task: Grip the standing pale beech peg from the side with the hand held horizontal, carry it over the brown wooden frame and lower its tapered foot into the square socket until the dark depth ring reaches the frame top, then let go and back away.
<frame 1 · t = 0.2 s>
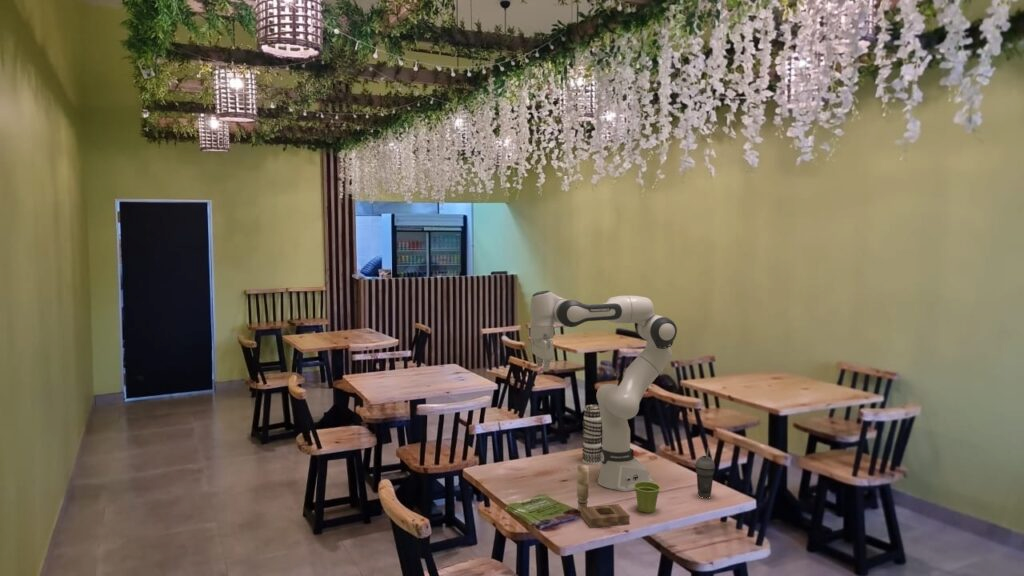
hand: (542, 368, 246), 48 cm above the table, tool pointing down, fingers open, 8 cm apart
decorative candle: (592, 461, 282), on the table
plant pot: (646, 510, 230), on the table
peg: (582, 510, 228), on the table
brown wooden frame: (604, 519, 221), on the table
beverage cup: (704, 496, 243), on the table
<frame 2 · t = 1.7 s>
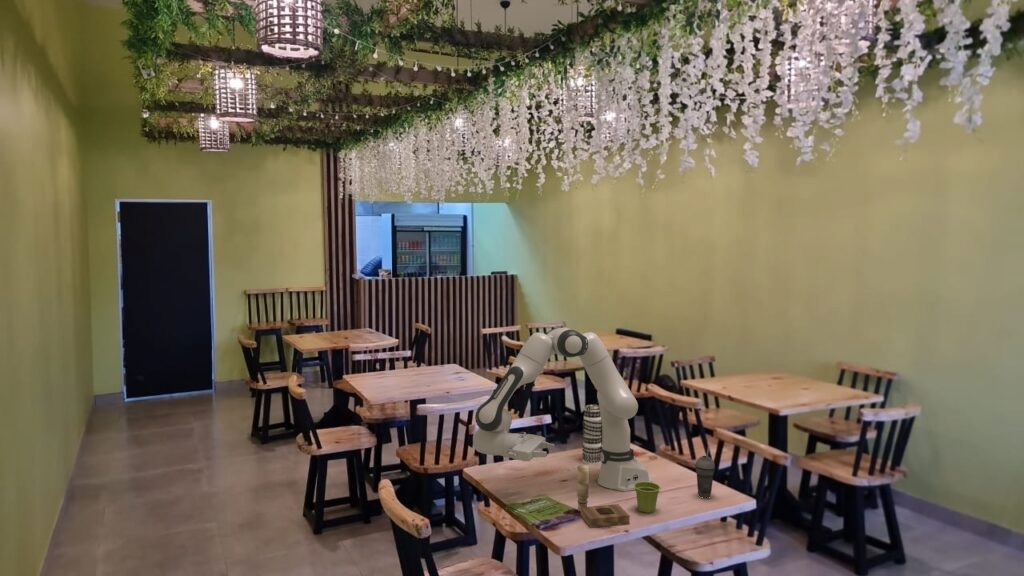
hand: (550, 450, 231), 20 cm above the table, tool horizontal, fingers open, 8 cm apart
nothing on the table moved.
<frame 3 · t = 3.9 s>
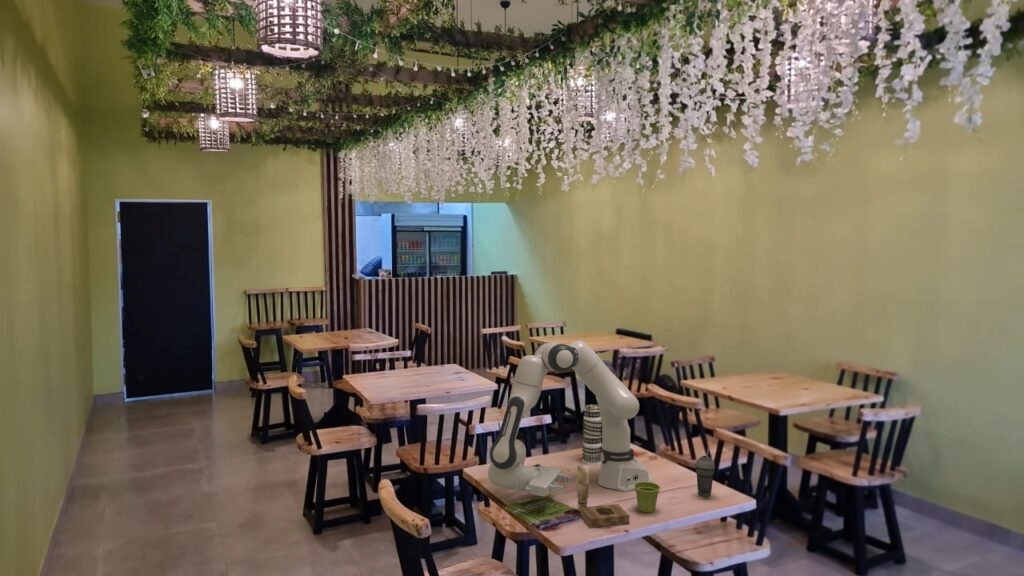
hand: (567, 484, 230), 9 cm above the table, tool horizontal, fingers open, 8 cm apart
nothing on the table moved.
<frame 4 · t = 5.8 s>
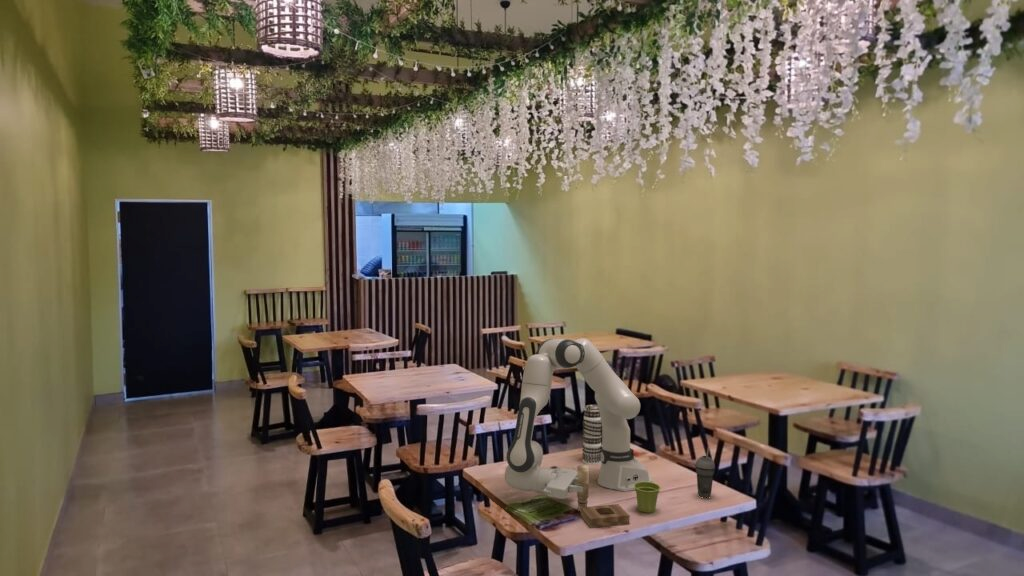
hand: (585, 486, 228), 9 cm above the table, tool horizontal, fingers closed on peg, 4 cm apart
peg: (582, 510, 228), on the table, touching gripper
everything else where it was.
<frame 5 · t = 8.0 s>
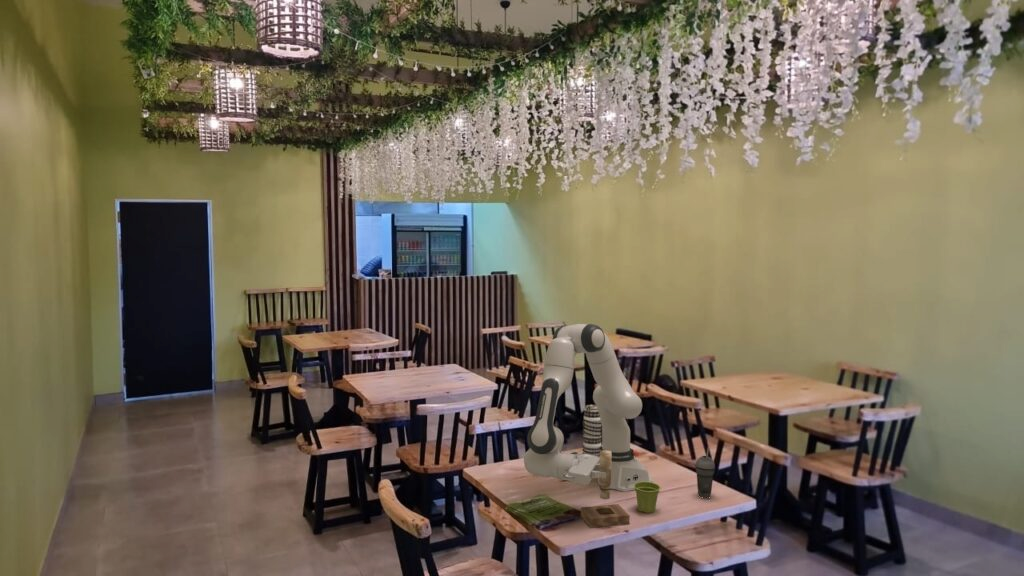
hand: (607, 472, 220), 17 cm above the table, tool horizontal, fingers closed on peg, 4 cm apart
peg: (604, 497, 220), point 8 cm above the table, touching gripper
everything else where it was.
when the fingers open (9 cm above the table, at t = 10.0 s): peg stays where it is, resting in brown wooden frame.
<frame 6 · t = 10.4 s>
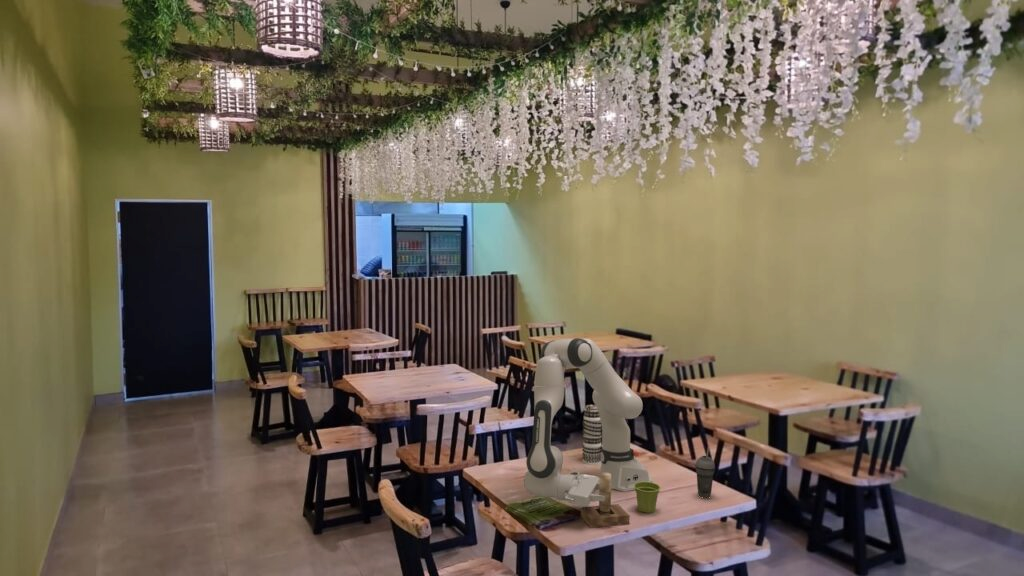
hand: (607, 493, 220), 9 cm above the table, tool horizontal, fingers open, 8 cm apart
peg: (604, 519, 221), resting in brown wooden frame
everything else where it was.
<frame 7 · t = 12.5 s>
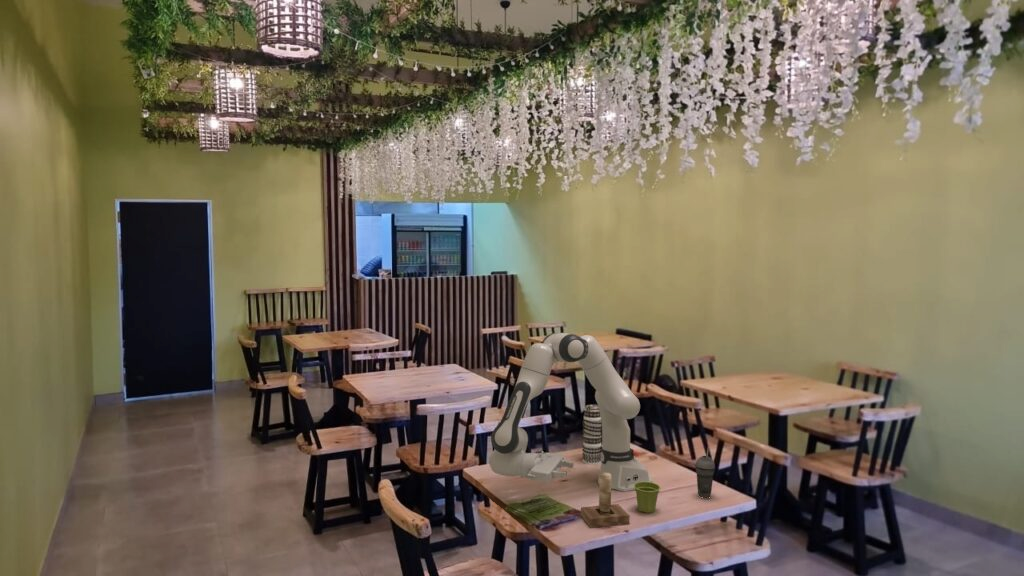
hand: (569, 469, 226), 15 cm above the table, tool horizontal, fingers open, 8 cm apart
nothing on the table moved.
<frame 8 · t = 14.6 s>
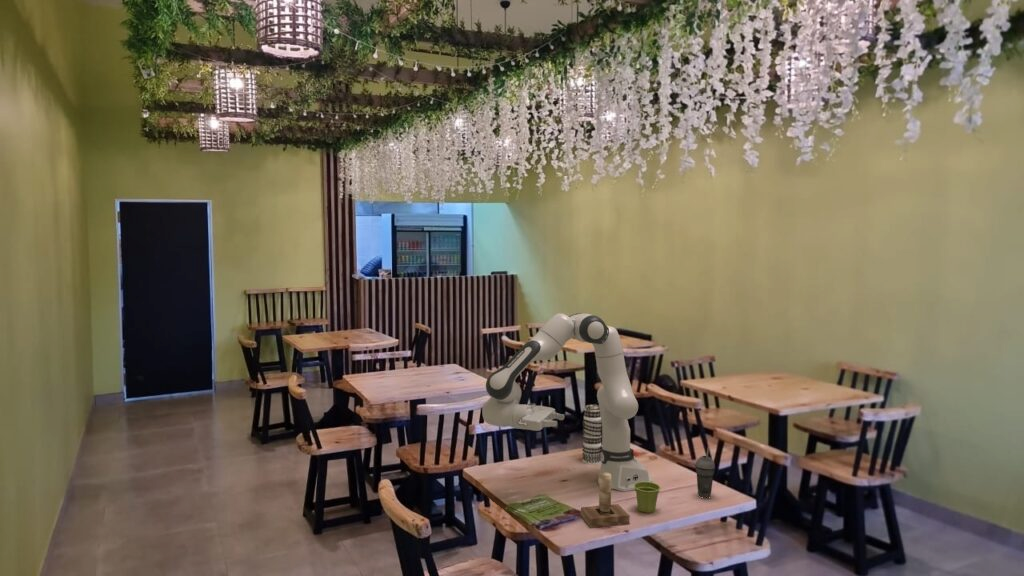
hand: (560, 420, 229), 32 cm above the table, tool horizontal, fingers open, 8 cm apart
nothing on the table moved.
at the end: peg 0.0 cm off-centre on the brown wooden frame, point 0.0 cm above the brown wooden frame's base; peg tilted 0°; the gripper is holding nothing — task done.
